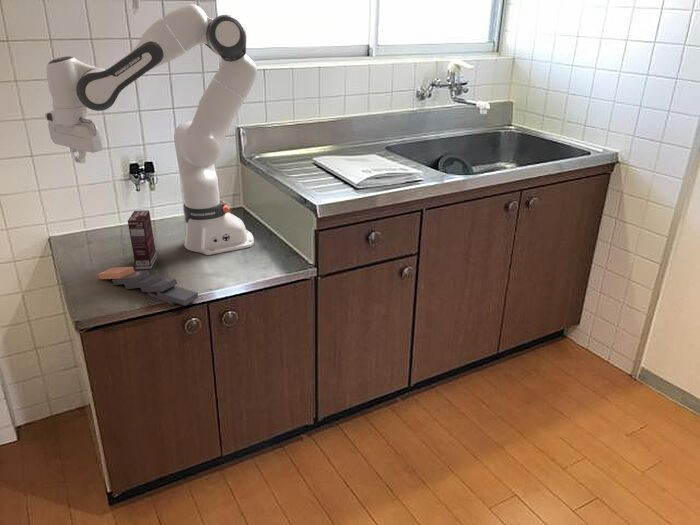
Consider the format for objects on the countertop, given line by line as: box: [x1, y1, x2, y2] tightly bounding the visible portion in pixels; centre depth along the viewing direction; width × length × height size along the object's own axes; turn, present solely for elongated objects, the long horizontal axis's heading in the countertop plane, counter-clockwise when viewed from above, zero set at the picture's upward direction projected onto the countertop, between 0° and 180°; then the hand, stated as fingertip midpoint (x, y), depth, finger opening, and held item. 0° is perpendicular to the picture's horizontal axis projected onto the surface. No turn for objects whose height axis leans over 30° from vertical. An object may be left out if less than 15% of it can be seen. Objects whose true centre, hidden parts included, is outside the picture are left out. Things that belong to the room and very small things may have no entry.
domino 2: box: [111, 269, 151, 286], centre depth 169 cm, size 2×5×10 cm
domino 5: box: [147, 292, 176, 306], centre depth 164 cm, size 2×5×10 cm
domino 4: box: [139, 278, 178, 293], centre depth 164 cm, size 2×5×10 cm
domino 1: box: [97, 266, 136, 280], centre depth 172 cm, size 2×5×10 cm
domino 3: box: [123, 273, 163, 290], centre depth 167 cm, size 2×5×10 cm
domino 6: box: [157, 285, 199, 307], centre depth 161 cm, size 2×5×10 cm
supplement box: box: [127, 209, 158, 270], centre depth 179 cm, size 9×5×16 cm, turn 5°
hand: (80, 162), depth 178 cm, fingers closed
